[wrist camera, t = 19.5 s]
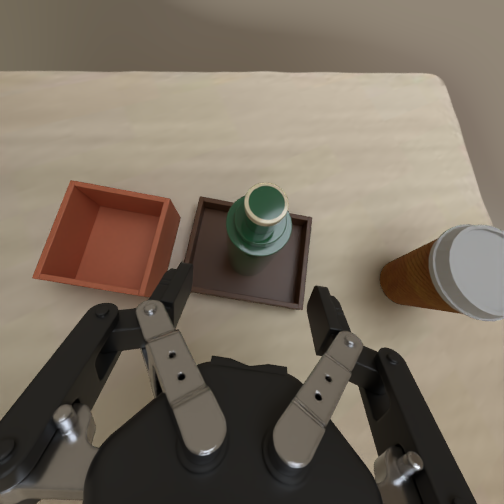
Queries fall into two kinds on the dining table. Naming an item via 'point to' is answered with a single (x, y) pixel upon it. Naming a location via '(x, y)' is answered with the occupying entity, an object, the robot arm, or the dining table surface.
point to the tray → (238, 286)
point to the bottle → (257, 228)
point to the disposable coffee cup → (452, 274)
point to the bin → (110, 240)
